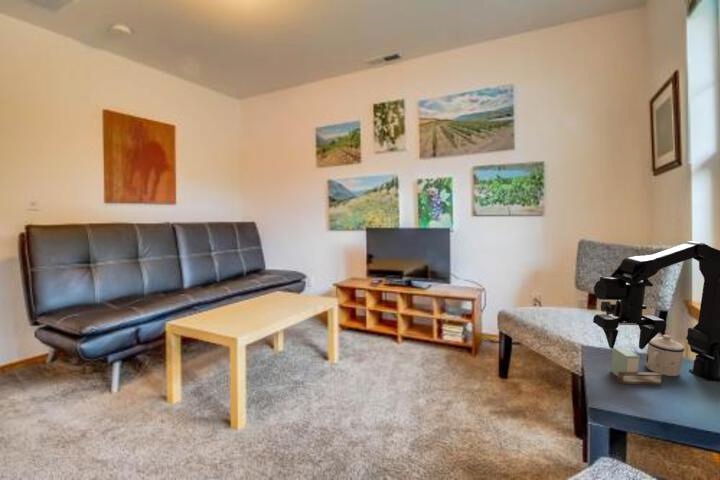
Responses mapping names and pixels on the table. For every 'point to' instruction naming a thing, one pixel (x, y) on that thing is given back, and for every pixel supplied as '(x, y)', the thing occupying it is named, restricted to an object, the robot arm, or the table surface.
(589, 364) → the table surface
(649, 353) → the teacup with lid
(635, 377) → the wooden block
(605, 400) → the table surface
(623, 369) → the sage tin
